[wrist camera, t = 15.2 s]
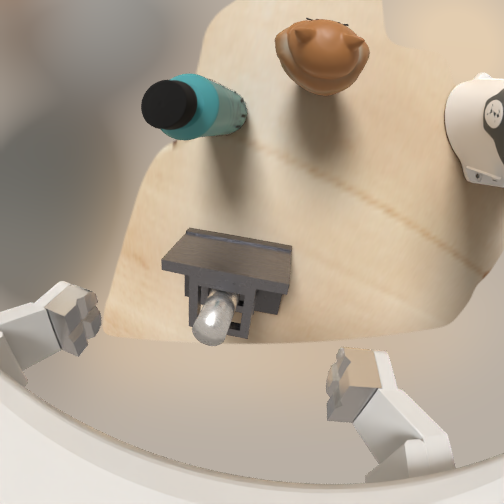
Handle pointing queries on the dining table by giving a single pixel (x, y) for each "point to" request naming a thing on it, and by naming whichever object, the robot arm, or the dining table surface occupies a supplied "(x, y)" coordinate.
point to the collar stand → (231, 272)
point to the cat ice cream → (321, 55)
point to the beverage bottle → (193, 107)
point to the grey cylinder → (215, 317)
